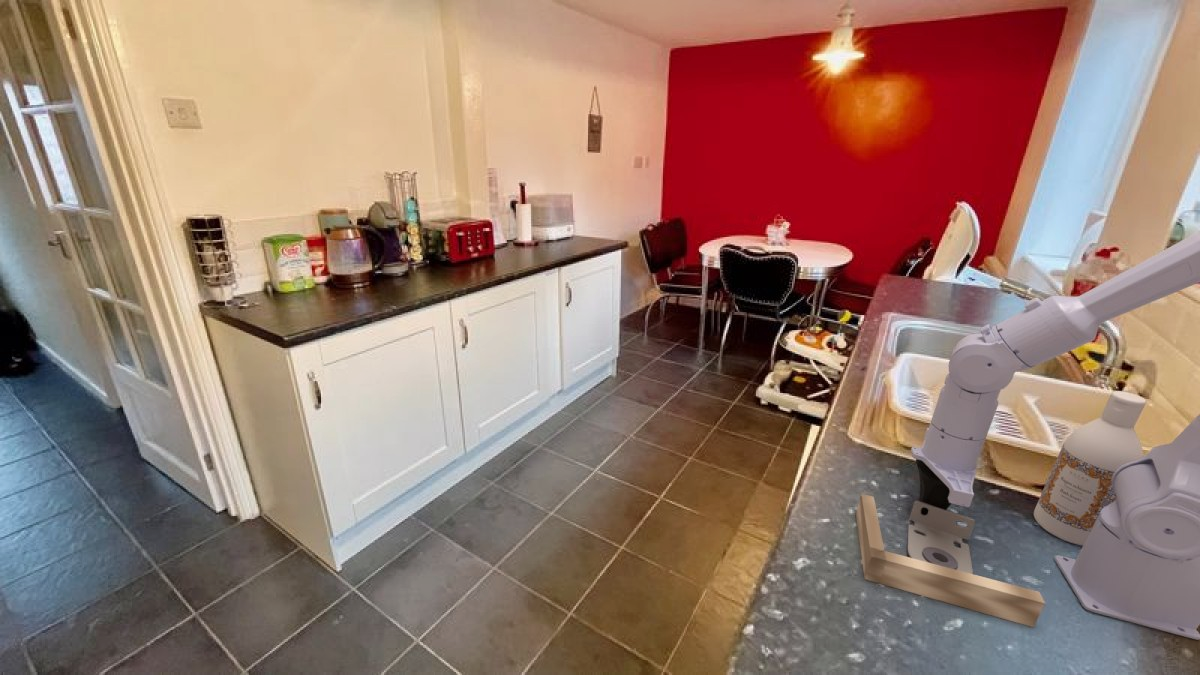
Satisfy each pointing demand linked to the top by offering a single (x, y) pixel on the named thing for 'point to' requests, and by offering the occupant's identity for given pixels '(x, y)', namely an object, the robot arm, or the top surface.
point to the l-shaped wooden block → (940, 577)
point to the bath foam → (1090, 469)
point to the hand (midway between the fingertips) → (929, 514)
